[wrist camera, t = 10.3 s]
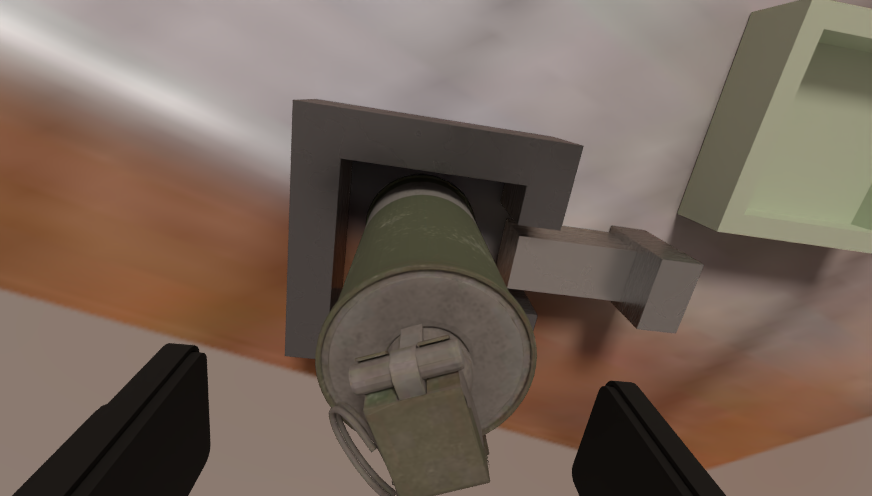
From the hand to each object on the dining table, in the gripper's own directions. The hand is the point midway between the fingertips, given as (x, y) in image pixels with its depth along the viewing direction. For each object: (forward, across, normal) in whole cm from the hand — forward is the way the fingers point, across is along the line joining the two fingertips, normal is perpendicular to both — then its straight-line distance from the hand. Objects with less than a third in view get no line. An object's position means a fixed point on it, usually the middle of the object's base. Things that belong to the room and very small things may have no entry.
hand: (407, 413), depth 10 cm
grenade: (+14, -1, 0) cm, 14 cm away
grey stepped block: (+13, -9, 0) cm, 16 cm away
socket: (+14, -1, 0) cm, 14 cm away
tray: (+13, -20, -8) cm, 25 cm away
